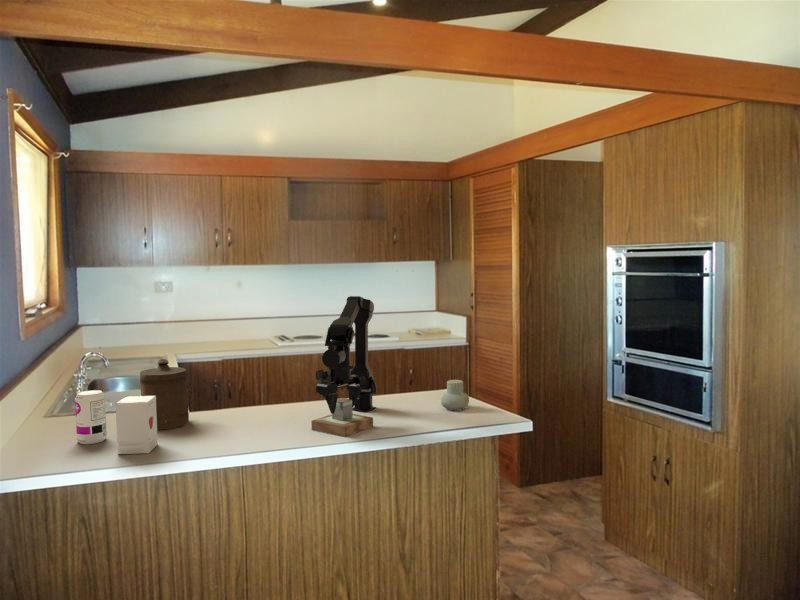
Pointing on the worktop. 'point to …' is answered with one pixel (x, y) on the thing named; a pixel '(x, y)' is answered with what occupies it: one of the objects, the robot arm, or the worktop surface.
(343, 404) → the grey box
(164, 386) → the wooden container
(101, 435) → the supplement can
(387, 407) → the worktop surface
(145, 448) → the supplement box
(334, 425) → the platform
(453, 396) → the air freshener
